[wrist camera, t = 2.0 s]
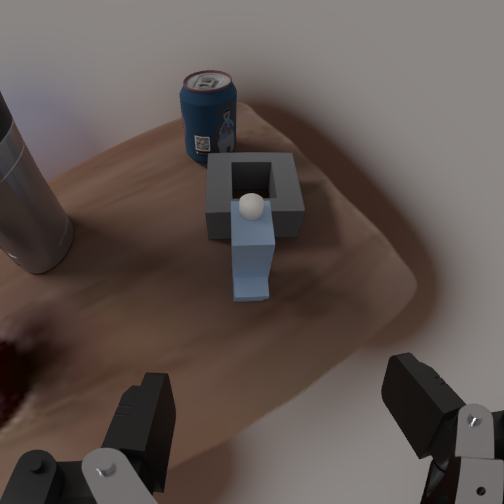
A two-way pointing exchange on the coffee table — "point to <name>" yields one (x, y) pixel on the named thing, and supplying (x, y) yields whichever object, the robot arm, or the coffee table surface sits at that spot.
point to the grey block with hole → (253, 178)
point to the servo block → (251, 247)
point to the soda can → (208, 114)
